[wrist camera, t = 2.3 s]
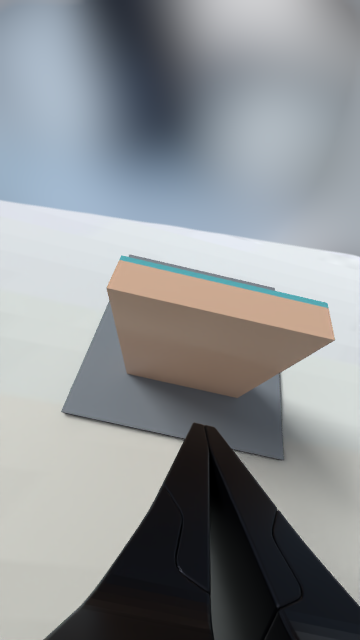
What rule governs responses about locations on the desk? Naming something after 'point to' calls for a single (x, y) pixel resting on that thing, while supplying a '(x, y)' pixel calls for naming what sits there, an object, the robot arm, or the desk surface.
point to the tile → (210, 328)
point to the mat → (172, 397)
